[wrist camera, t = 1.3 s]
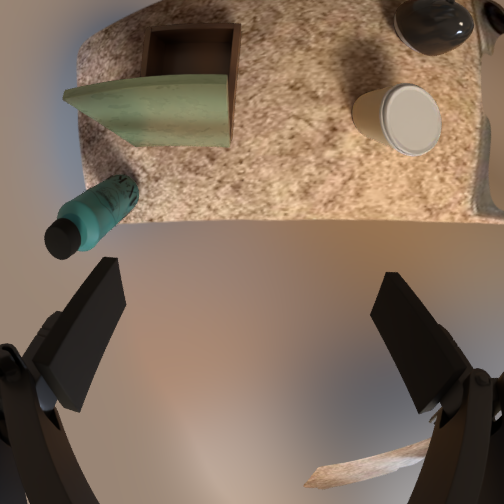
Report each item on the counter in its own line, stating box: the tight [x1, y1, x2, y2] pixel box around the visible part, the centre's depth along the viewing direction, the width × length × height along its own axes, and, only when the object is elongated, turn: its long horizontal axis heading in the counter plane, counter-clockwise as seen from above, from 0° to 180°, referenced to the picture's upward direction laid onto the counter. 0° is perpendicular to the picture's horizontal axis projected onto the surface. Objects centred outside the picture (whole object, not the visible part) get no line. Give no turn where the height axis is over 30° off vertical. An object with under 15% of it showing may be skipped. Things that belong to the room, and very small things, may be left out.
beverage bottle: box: [44, 174, 139, 260], centre depth 31 cm, size 6×7×20 cm
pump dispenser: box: [394, 0, 474, 56], centre depth 22 cm, size 10×10×15 cm
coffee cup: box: [352, 83, 442, 156], centre depth 31 cm, size 9×9×12 cm
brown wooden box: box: [140, 23, 241, 143], centre depth 30 cm, size 16×12×8 cm
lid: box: [63, 74, 230, 147], centre depth 22 cm, size 17×12×1 cm
